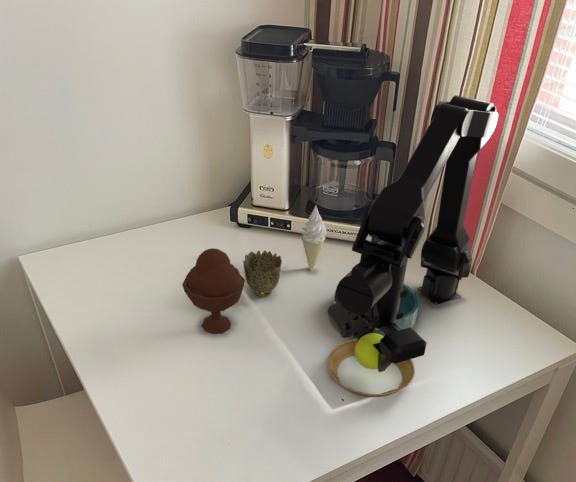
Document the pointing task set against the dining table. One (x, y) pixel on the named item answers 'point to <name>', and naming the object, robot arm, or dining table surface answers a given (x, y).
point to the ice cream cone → (313, 237)
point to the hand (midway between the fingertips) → (371, 360)
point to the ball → (368, 350)
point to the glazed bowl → (405, 310)
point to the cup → (262, 272)
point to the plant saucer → (349, 349)
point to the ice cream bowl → (214, 288)
